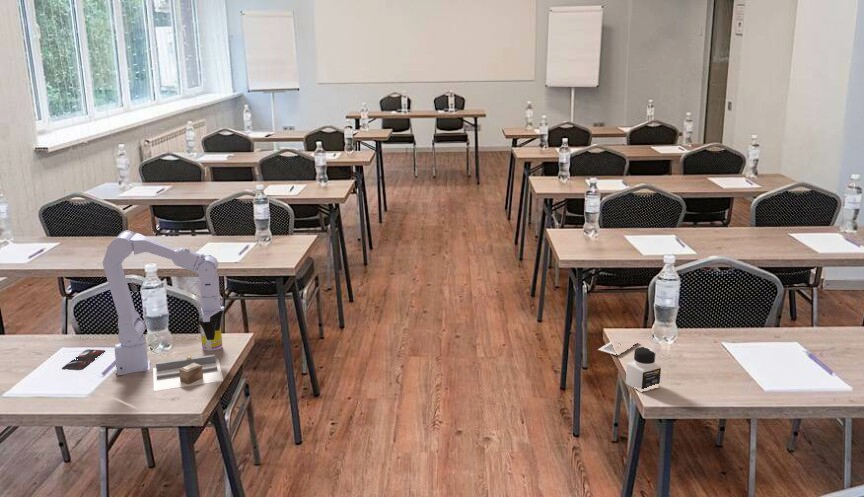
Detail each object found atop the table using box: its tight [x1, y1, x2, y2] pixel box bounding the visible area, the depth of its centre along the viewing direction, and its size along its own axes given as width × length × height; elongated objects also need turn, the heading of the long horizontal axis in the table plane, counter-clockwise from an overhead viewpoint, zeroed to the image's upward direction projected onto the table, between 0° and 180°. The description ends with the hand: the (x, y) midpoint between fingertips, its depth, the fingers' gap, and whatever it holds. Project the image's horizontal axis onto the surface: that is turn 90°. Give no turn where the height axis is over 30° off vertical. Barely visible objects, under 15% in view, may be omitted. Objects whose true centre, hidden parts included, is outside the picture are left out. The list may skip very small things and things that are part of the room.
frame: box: [179, 363, 203, 385], centre depth 228 cm, size 6×4×4 cm
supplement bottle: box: [199, 313, 223, 351], centre depth 251 cm, size 7×7×13 cm
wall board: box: [152, 354, 224, 392], centre depth 232 cm, size 20×17×4 cm
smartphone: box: [61, 349, 106, 371], centre depth 244 cm, size 7×1×15 cm
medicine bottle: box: [625, 346, 662, 389], centre depth 224 cm, size 7×7×12 cm
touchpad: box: [597, 340, 621, 356], centre depth 253 cm, size 8×15×2 cm, turn 139°
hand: (213, 334), depth 238 cm, fingers open, 7 cm apart
